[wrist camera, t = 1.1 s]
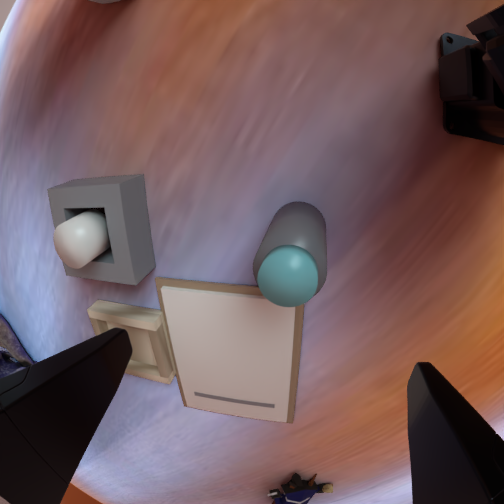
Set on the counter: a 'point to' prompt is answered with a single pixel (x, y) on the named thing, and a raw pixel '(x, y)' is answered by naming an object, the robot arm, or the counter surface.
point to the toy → (298, 491)
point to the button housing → (110, 225)
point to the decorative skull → (11, 351)
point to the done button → (82, 238)
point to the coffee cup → (104, 1)
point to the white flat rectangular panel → (232, 348)
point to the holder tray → (138, 337)
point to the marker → (292, 256)
